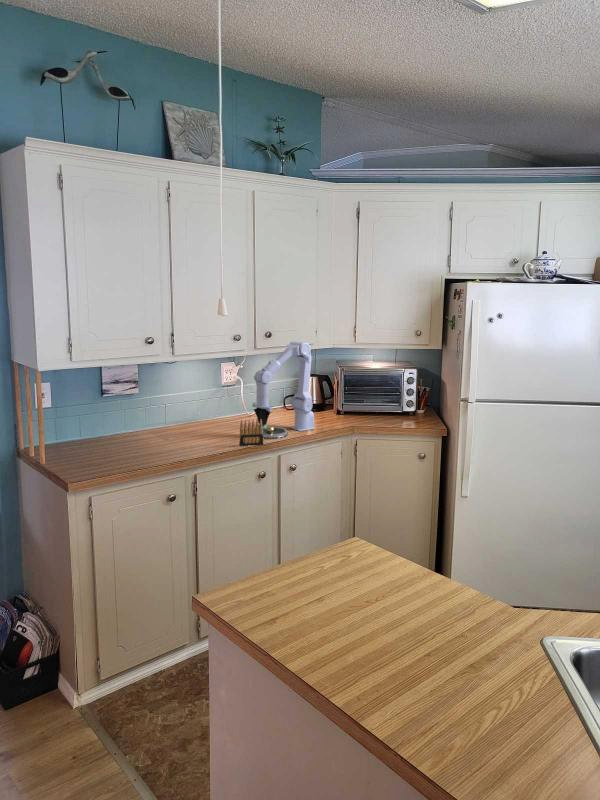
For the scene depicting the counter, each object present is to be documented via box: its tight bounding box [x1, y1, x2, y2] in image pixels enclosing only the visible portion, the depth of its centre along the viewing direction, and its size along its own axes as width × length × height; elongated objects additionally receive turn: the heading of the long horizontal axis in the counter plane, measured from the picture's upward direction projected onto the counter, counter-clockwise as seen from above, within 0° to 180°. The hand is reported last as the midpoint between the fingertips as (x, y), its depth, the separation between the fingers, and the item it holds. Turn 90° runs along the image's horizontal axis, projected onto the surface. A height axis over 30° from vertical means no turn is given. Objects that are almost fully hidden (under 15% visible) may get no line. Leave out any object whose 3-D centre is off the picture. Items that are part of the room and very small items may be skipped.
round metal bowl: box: [263, 426, 289, 440], centre depth 315 cm, size 17×17×4 cm
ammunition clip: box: [238, 418, 264, 447], centre depth 295 cm, size 11×2×12 cm, turn 106°
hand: (262, 423), depth 311 cm, fingers closed on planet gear, 2 cm apart
